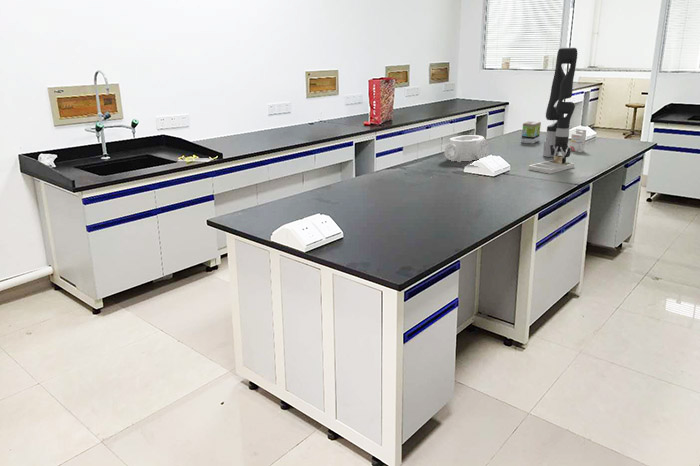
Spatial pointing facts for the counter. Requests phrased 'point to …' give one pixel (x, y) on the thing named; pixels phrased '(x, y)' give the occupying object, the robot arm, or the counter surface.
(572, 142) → the ink cartridge box
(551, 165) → the divider frame
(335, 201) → the counter surface
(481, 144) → the housing
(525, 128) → the tea box
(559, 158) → the beech letter block
